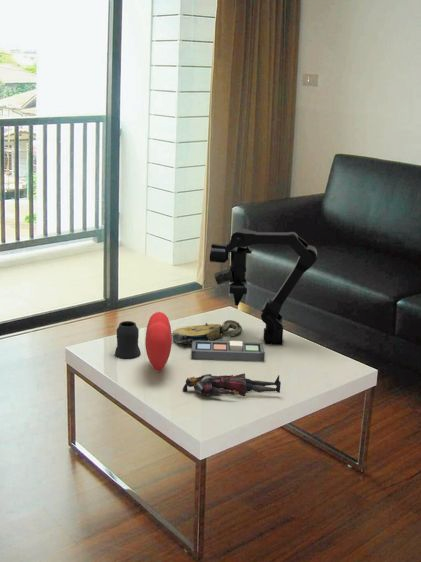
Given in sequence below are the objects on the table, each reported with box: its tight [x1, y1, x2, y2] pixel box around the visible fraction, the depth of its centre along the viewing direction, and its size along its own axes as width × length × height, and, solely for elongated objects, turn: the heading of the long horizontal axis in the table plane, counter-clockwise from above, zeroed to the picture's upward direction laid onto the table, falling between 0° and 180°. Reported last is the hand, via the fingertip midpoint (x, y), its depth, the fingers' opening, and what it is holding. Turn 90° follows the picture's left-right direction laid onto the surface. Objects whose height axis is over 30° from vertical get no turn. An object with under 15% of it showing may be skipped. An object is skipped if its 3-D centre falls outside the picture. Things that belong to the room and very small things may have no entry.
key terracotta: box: [213, 344, 226, 351], centre depth 259 cm, size 4×4×2 cm
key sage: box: [245, 345, 259, 352], centre depth 258 cm, size 4×4×2 cm
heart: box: [144, 311, 173, 373], centre depth 241 cm, size 20×9×19 cm, turn 3°
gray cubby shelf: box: [190, 340, 266, 363], centre depth 259 cm, size 25×10×3 cm, turn 89°
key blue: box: [197, 344, 210, 350], centre depth 259 cm, size 4×4×2 cm
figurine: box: [182, 372, 282, 397], centre depth 229 cm, size 13×6×30 cm
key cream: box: [229, 340, 243, 351], centre depth 258 cm, size 4×4×2 cm
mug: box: [114, 320, 142, 360], centre depth 257 cm, size 12×9×11 cm
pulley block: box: [171, 319, 243, 345], centre depth 273 cm, size 14×6×30 cm
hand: (236, 305), depth 271 cm, fingers closed
